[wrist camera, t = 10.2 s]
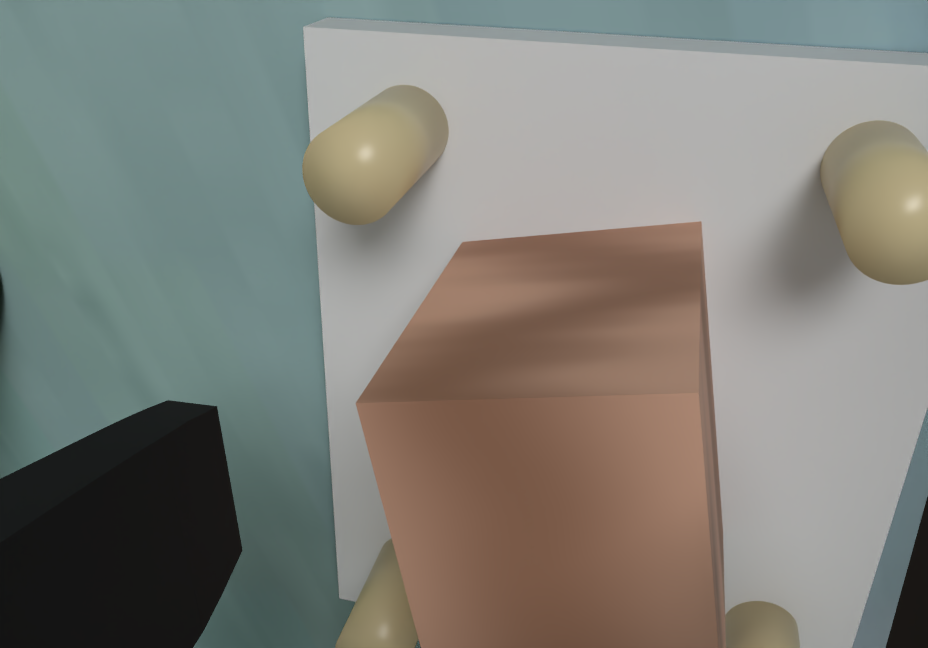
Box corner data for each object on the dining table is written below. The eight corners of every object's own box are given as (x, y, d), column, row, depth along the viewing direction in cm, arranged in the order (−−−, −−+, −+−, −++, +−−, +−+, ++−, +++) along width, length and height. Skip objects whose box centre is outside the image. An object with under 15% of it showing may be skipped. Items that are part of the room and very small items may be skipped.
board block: (701, 221, 16) (698, 392, 11) (723, 531, 19) (728, 786, 13) (461, 242, 17) (355, 402, 12) (517, 528, 20) (450, 759, 15)
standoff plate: (1009, 57, 14) (1111, 119, 11) (829, 658, 21) (855, 823, 17) (327, 17, 17) (224, 56, 13) (355, 566, 23) (290, 693, 20)
